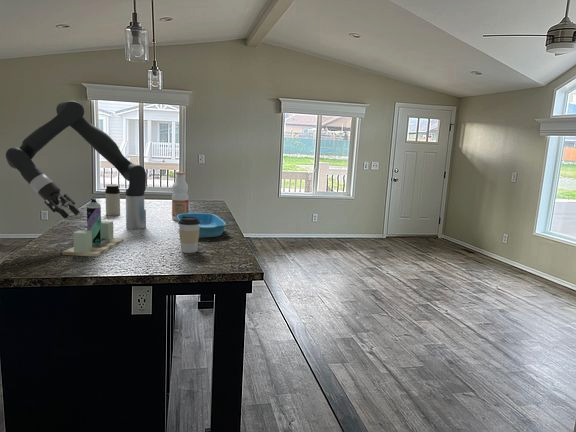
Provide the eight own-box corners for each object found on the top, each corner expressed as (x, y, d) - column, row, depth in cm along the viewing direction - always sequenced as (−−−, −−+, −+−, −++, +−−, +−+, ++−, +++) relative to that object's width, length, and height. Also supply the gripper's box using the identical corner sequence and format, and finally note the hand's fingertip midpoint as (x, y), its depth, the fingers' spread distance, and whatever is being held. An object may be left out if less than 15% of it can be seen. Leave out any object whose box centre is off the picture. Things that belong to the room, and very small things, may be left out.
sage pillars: (102, 237, 196) (102, 220, 195) (113, 238, 196) (113, 221, 195) (74, 252, 172) (73, 232, 170) (86, 252, 172) (85, 233, 170)
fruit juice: (169, 218, 253) (169, 171, 248) (183, 217, 259) (183, 171, 254) (177, 221, 246) (177, 173, 241) (191, 220, 253) (191, 172, 248)
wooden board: (93, 239, 197) (93, 237, 197) (123, 241, 197) (123, 238, 197) (62, 254, 172) (62, 251, 171) (96, 256, 171) (96, 253, 171)
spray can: (87, 243, 185) (86, 198, 182) (101, 242, 188) (100, 197, 184) (87, 246, 180) (86, 199, 177) (101, 245, 183) (100, 199, 179)
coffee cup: (203, 249, 189) (204, 216, 187) (192, 254, 181) (193, 220, 178) (185, 247, 192) (186, 214, 190) (174, 251, 184) (174, 217, 181)
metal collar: (90, 241, 188) (90, 237, 188) (109, 243, 188) (109, 238, 188) (80, 246, 180) (79, 242, 180) (100, 247, 180) (100, 243, 179)
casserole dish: (230, 239, 213) (230, 225, 211) (184, 241, 204) (185, 226, 203) (213, 224, 246) (213, 211, 245) (173, 225, 237) (173, 212, 236)
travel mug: (115, 216, 252) (114, 186, 249) (103, 215, 254) (102, 185, 250) (122, 214, 260) (122, 184, 257) (111, 213, 261) (110, 183, 258)
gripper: (40, 183, 173) (69, 212, 174) (60, 179, 187) (87, 207, 188) (28, 195, 174) (57, 224, 175) (49, 191, 188) (75, 218, 189)
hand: (72, 215), depth 182 cm, fingers open, 8 cm apart
